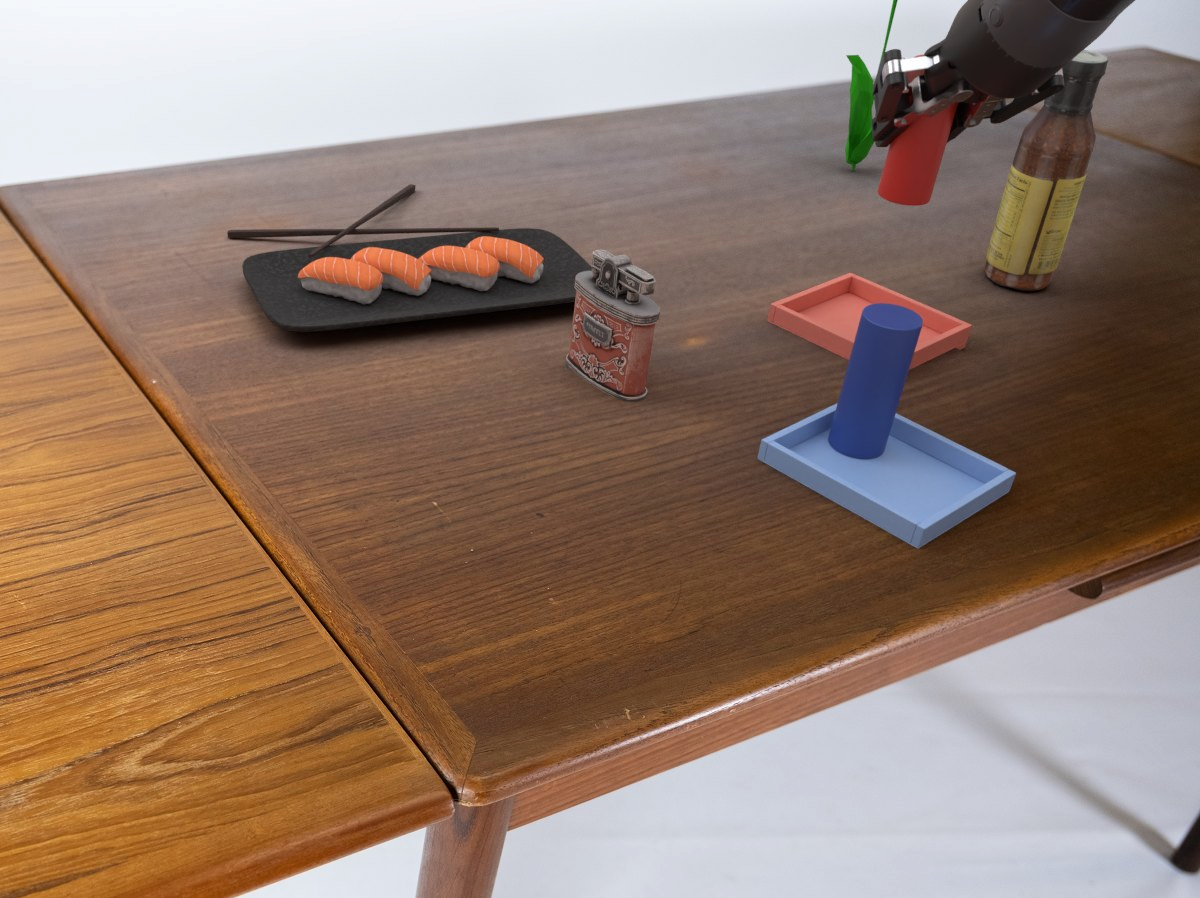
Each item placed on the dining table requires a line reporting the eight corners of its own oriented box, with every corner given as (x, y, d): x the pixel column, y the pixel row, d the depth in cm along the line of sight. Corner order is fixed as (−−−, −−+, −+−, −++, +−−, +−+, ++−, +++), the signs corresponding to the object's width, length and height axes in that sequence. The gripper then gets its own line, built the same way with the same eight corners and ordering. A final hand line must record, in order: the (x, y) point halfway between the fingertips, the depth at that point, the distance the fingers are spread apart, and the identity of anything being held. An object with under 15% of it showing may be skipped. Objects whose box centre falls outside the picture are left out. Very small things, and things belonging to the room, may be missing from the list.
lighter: (554, 366, 99) (568, 243, 93) (588, 356, 101) (604, 234, 94) (621, 412, 94) (640, 285, 88) (656, 401, 96) (677, 276, 89)
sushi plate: (276, 354, 98) (275, 308, 95) (196, 206, 119) (193, 166, 117) (616, 313, 107) (622, 270, 105) (485, 183, 129) (487, 145, 126)
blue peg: (895, 448, 91) (935, 319, 85) (862, 465, 89) (901, 335, 83) (849, 424, 94) (885, 297, 87) (816, 441, 91) (850, 312, 85)
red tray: (965, 347, 106) (972, 324, 105) (887, 385, 100) (894, 361, 99) (844, 294, 113) (850, 272, 112) (765, 326, 107) (770, 303, 106)
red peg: (939, 199, 99) (979, 65, 93) (910, 209, 97) (949, 73, 91) (896, 183, 101) (932, 51, 95) (867, 192, 99) (901, 58, 93)
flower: (905, 173, 139) (990, -141, 121) (870, 190, 134) (953, -134, 116) (835, 151, 143) (907, -156, 125) (798, 167, 138) (868, -150, 120)
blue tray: (1007, 498, 88) (1016, 472, 87) (915, 555, 82) (924, 528, 81) (849, 418, 96) (856, 393, 94) (755, 465, 89) (761, 439, 88)
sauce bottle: (1045, 271, 120) (1124, 50, 108) (1053, 298, 115) (1137, 70, 103) (974, 261, 121) (1044, 40, 109) (979, 287, 116) (1053, 59, 104)
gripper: (1131, -42, 83) (984, 91, 100) (930, -50, 81) (814, 88, 97) (1146, 67, 82) (995, 182, 99) (944, 63, 80) (824, 182, 97)
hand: (906, 135), depth 98 cm, fingers closed on red peg, 4 cm apart
